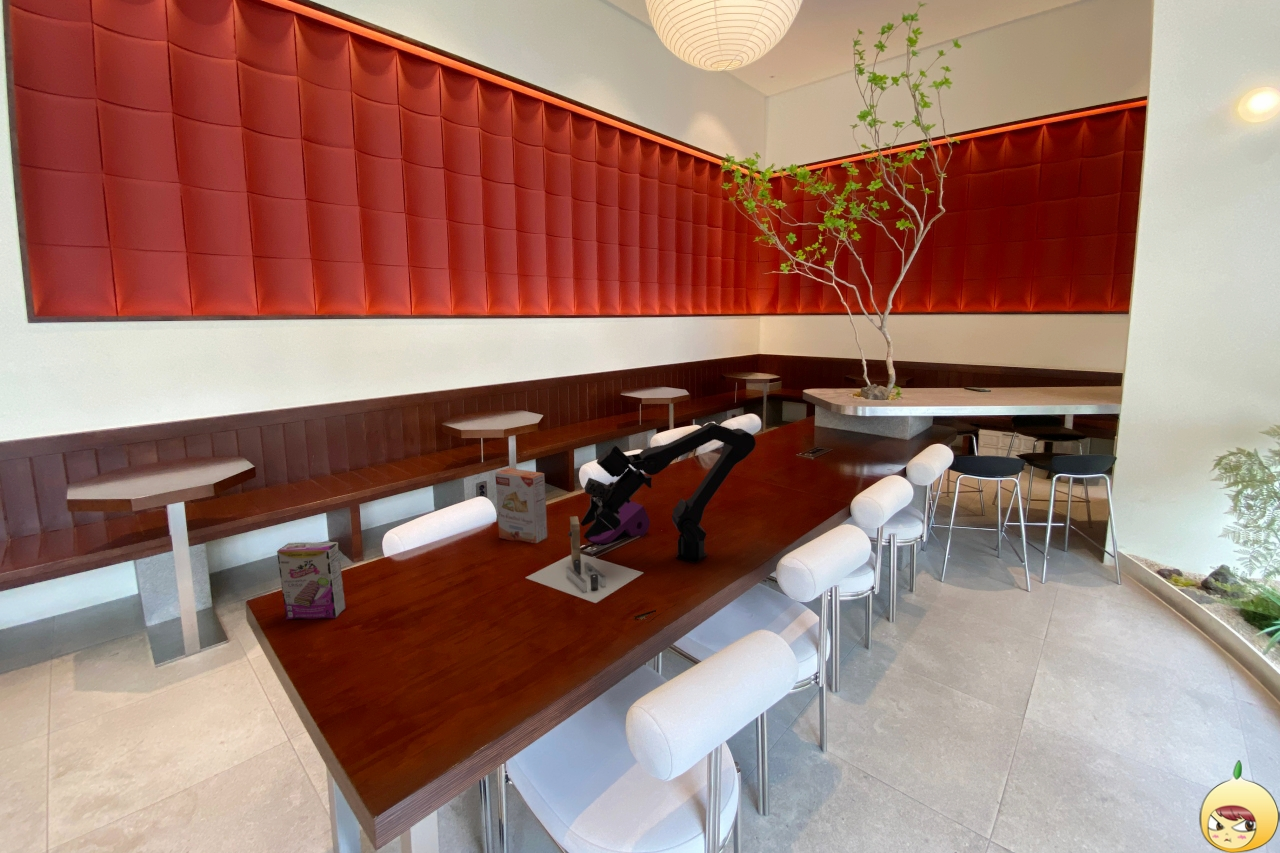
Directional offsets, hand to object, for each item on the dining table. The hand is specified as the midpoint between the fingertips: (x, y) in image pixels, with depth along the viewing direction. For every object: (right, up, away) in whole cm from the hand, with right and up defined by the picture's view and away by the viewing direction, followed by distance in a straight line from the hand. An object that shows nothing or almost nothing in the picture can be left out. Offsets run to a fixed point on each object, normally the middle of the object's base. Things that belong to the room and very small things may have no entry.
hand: (583, 531), depth 151 cm
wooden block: (-2, -9, +1) cm, 9 cm away
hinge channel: (+2, -11, -9) cm, 14 cm away
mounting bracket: (+8, -6, +22) cm, 24 cm away
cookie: (+15, -14, -19) cm, 28 cm away
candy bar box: (-58, -15, -21) cm, 64 cm away
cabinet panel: (+1, -11, -5) cm, 12 cm away
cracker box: (-20, -6, +21) cm, 30 cm away
